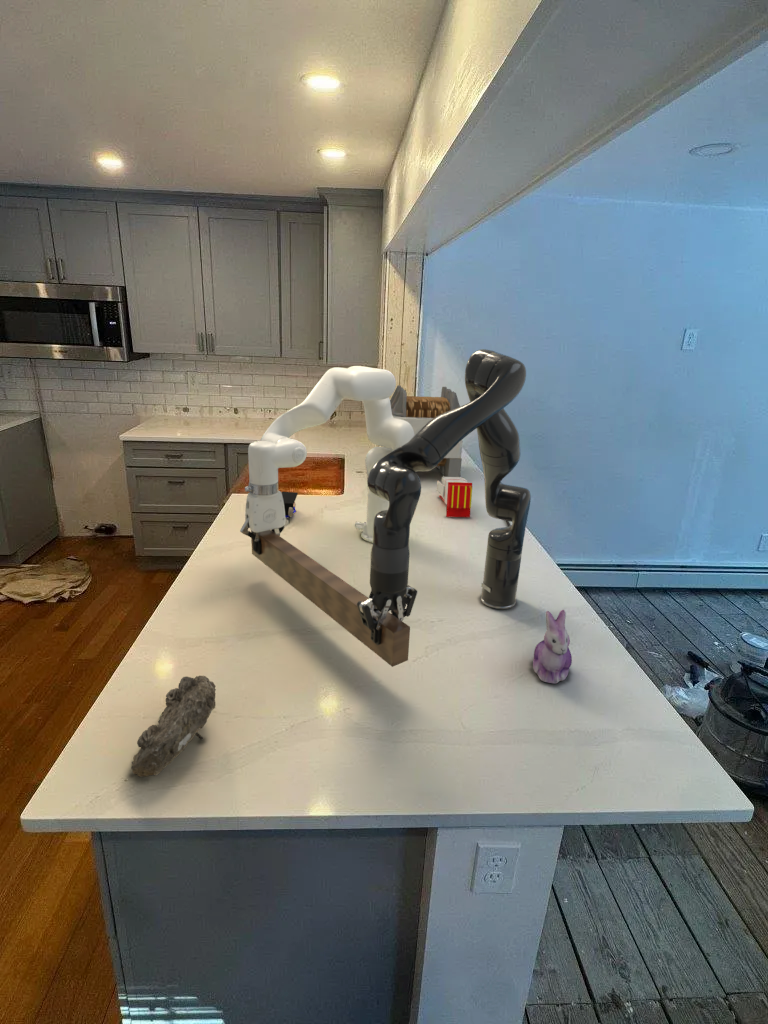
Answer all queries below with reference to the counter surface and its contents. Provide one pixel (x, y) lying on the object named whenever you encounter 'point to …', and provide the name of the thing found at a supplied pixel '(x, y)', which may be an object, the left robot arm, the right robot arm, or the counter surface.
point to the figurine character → (289, 503)
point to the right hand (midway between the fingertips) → (385, 638)
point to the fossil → (175, 725)
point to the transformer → (421, 413)
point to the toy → (456, 496)
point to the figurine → (553, 651)
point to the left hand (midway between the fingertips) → (266, 550)
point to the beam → (332, 596)
